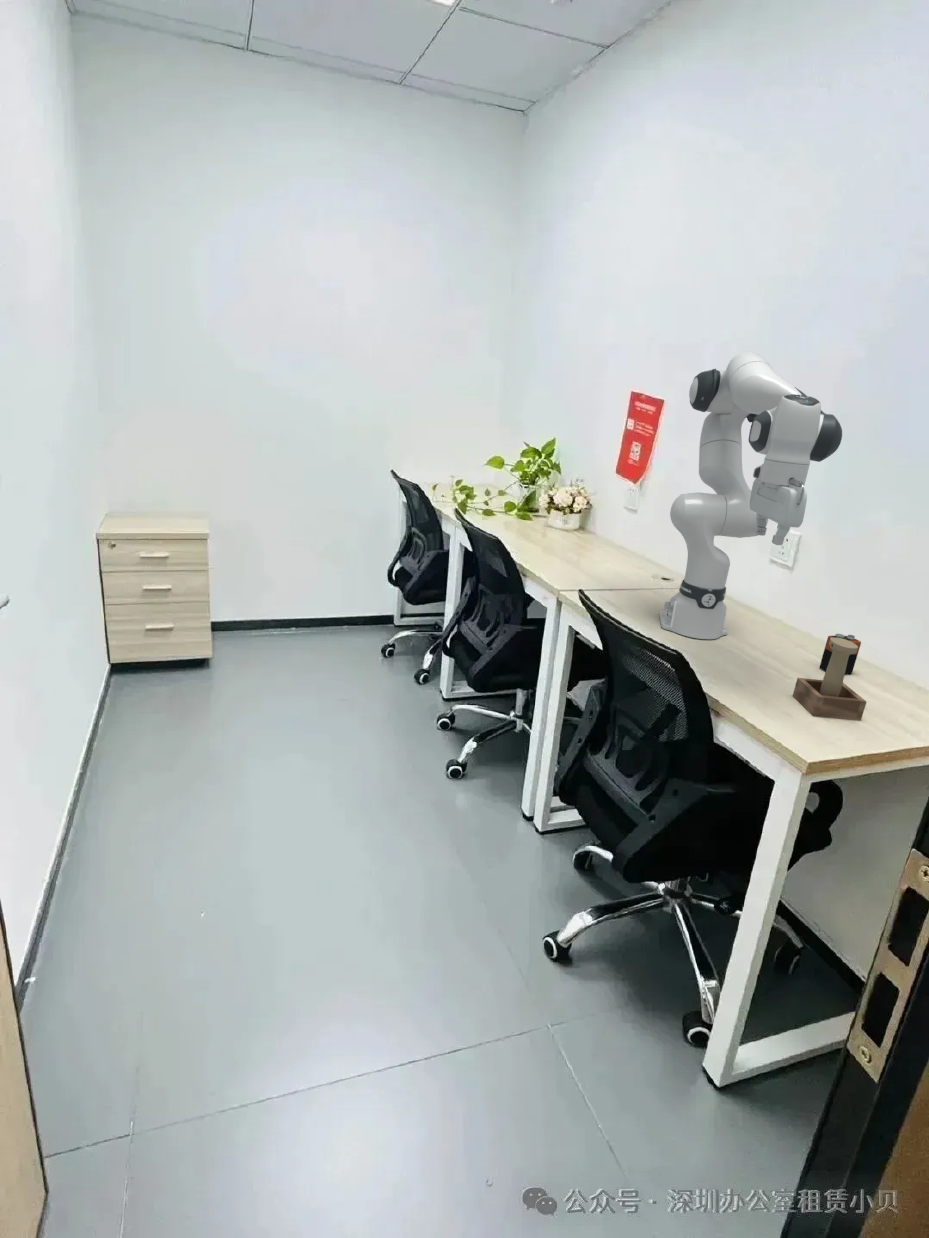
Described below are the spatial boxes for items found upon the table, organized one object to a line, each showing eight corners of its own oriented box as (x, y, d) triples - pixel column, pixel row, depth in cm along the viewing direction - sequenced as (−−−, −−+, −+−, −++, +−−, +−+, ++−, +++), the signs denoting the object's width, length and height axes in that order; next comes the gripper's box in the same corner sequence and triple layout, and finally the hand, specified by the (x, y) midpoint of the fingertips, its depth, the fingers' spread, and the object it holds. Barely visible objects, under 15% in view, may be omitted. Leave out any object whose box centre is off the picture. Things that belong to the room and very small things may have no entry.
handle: (829, 700, 158) (847, 638, 153) (843, 712, 152) (862, 649, 147) (808, 698, 158) (825, 636, 153) (822, 710, 151) (840, 647, 147)
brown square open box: (792, 695, 160) (797, 677, 158) (837, 699, 160) (842, 681, 158) (813, 716, 150) (818, 697, 148) (860, 720, 150) (866, 701, 148)
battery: (818, 668, 179) (828, 631, 176) (840, 668, 180) (851, 632, 177) (829, 674, 175) (840, 638, 172) (852, 675, 176) (863, 638, 173)
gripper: (821, 484, 137) (803, 552, 141) (778, 471, 156) (764, 531, 160) (789, 481, 136) (772, 549, 141) (751, 468, 156) (737, 528, 160)
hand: (768, 539), depth 151 cm, fingers open, 8 cm apart
